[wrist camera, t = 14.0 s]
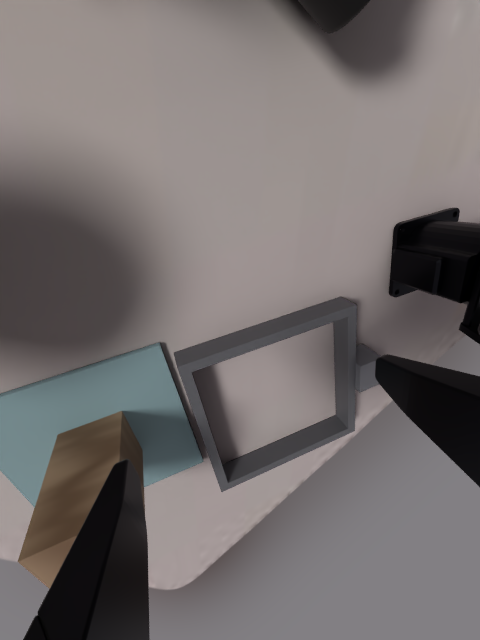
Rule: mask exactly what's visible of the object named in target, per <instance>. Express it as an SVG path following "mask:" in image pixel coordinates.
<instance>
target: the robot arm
mask: <svg viewBox="0 0 480 640" xmlns="http://www.w3.org/2000/svg"><path fill="white" fill-rule="evenodd" d="M459 212H460V211H459V209H458V208H449V209H446V210H442V211H439V212H435V213H432V214H428V215H424V216H421V217H417V218H414V219H410V220H407V221H403V222H400V223H398V224H396V226H395V227H394V232H393V246H392V259H391V273H390V286H389V294H390V296H393V297H398V296H401V295H404V294H407V293H410V292H413V291H415V290H421V291H424V292H427V293H429V294H432V295H437V296H440V297H443V298H446V299H449V300H452V301H455V302H458V303H464V304H467V309H466V312H465V315H464V319H463V322H461V324H460V327H459V330H460V331H462V332H463V333H464V334H466V335H467V336H469V337H470V338H472V339H473V340H474V341H476V342H477V343H479V344H480V224H477V223H466V222H458V218H459ZM400 229H401V230H400ZM375 378H376V380H377V381H378V383H379V384H380V385H381V386H382V387H383V389H384V390H385V391H386V392H387V393H388V395H389V396H390V397H391V398H392V399H393V400H394V402H395V403H396V404H397V405H398V406H399V407H400V409H401V410H402V411H403V412H404V413H405V414H406V415H407V416H408V417H409V418H410V419H411V420H412V421H413V422H414V423H415V424H416V425H417V426H418V427H419V428H420V429H421V430H422V431H423V432H424V433H425V434H426V435H427V436H428V437H429V438H430V439H431V440H432V441H433V442H434V443H435V444H436V445H437V446H438V447H439V448H440V449H441V450H442V451H443V452H444V453H446V454H447V455H448V456H449V457H450V458H451V459H452V460H453V461H454V462H455V463H456V464H457V465H458V466H459V467H460V468H461V469H462V470H463V471H464V472H465V473H466V474H467V475H468V476H469V477H470V478H471V479H472V480H473V481H474V482H475V483H476V484H477V485H478V486H479V487H480V376H475V375H471V374H467V373H463V372H459V371H455V370H451V369H447V368H442V367H438V366H434V365H430V364H426V363H422V362H417V361H413V360H409V359H405V358H401V357H397V356H392V355H388V354H386V355H383V356H381V357H378V358H377V359H376V363H375ZM148 596H149V594H148V543H147V529H146V521H145V513H144V505H143V498H142V490H141V482H140V478H139V475H138V473H137V471H136V470H135V468H134V466H133V464H132V462H131V461H130V460H129V459H125V460H122V461H120V462H118V463H116V464H114V466H113V467H112V469H111V471H110V473H109V475H108V477H107V479H106V481H105V483H104V485H103V487H102V488H101V490H100V492H99V494H98V496H97V498H96V500H95V502H94V504H93V506H92V508H91V510H90V512H89V514H88V516H87V517H86V519H85V521H84V523H83V525H82V527H81V529H80V531H79V533H78V535H77V537H76V539H75V541H74V543H73V544H72V546H71V548H70V550H69V552H68V554H67V556H66V558H65V560H64V562H63V564H62V566H61V568H60V570H59V572H58V573H57V575H56V577H55V579H54V581H53V583H52V585H51V587H50V589H49V591H48V593H47V595H46V597H45V599H44V600H43V602H42V604H41V606H40V608H39V610H38V615H37V616H35V618H34V620H33V621H32V623H31V625H30V627H29V629H28V631H27V633H26V635H25V637H24V639H23V640H149V597H148Z"/></svg>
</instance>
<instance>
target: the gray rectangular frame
mask: <svg viewBox="0 0 480 640" xmlns="http://www.w3.org/2000/svg"><path fill="white" fill-rule="evenodd" d="M332 322H333V325H334V362H335V398H336V415H335V416H333V417H330V418H328V419H326V420H324V421H321V422H319V423H317V424H314V425H312V426H310V427H308V428H305V429H303V430H301V431H299V432H296V433H294V434H292V435H289V436H287V437H285V438H283V439H280V440H278V441H276V442H273V443H271V444H269V445H267V446H264V447H262V448H260V449H258V450H255V451H253V452H251V453H248V454H246V455H244V456H242V457H239V458H237V459H235V460H232V461H230V462H228V463H226V464H223V465H222V463H221V460H220V457H219V454H218V451H217V448H216V445H215V442H214V439H213V436H212V433H211V430H210V426H209V423H208V420H207V417H206V414H205V411H204V408H203V405H202V402H201V399H200V396H199V393H198V390H197V387H196V384H195V381H194V378H193V375H192V372H194V371H197V370H200V369H202V368H205V367H208V366H211V365H214V364H216V363H219V362H222V361H225V360H228V359H230V358H233V357H236V356H239V355H242V354H245V353H247V352H250V351H253V350H256V349H259V348H261V347H264V346H267V345H270V344H273V343H275V342H278V341H281V340H284V339H287V338H290V337H292V336H295V335H298V334H301V333H304V332H306V331H309V330H312V329H315V328H318V327H320V326H323V325H326V324H329V323H332ZM356 323H357V305H356V304H354V303H352V302H350V301H348V300H346V299H344V298H342V297H338V298H335V299H332V300H329V301H326V302H324V303H321V304H318V305H315V306H312V307H309V308H306V309H303V310H300V311H297V312H294V313H291V314H288V315H285V316H282V317H279V318H276V319H273V320H270V321H267V322H264V323H261V324H258V325H255V326H252V327H249V328H246V329H243V330H240V331H237V332H234V333H231V334H228V335H225V336H222V337H219V338H216V339H213V340H210V341H207V342H204V343H201V344H198V345H195V346H192V347H189V348H186V349H183V350H180V351H177V352H174V356H175V360H176V364H177V368H178V371H179V374H180V376H181V379H182V382H183V385H184V388H185V390H186V393H187V396H188V399H189V402H190V404H191V407H192V410H193V413H194V416H195V419H196V421H197V424H198V427H199V430H200V433H201V435H202V438H203V441H204V444H205V447H206V449H207V452H208V455H209V458H210V461H211V464H212V466H213V469H214V472H215V475H216V478H217V480H218V483H219V486H220V489H221V492H223V491H225V490H227V489H230V488H232V487H234V486H236V485H238V484H240V483H243V482H245V481H247V480H249V479H251V478H253V477H256V476H258V475H260V474H262V473H264V472H267V471H269V470H271V469H273V468H275V467H277V466H280V465H282V464H284V463H286V462H288V461H290V460H293V459H295V458H297V457H299V456H301V455H303V454H306V453H308V452H310V451H312V450H314V449H316V448H319V447H321V446H323V445H325V444H327V443H329V442H332V441H334V440H336V439H338V438H340V437H343V436H345V435H347V434H349V433H351V432H353V431H355V389H357V390H358V391H359V392H362V391H364V390H367V389H369V388H371V387H374V386H376V385H378V384H379V383H378V381H377V380H376V378H375V363H376V359H377V358H378V357H381V356H380V355H379V354H377V353H376V352H374V351H373V350H371V349H370V348H368V347H367V346H365V345H364V344H361V345H358V346H356Z"/></svg>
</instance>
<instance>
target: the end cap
mask: <svg viewBox="0 0 480 640" xmlns="http://www.w3.org/2000/svg"><path fill="white" fill-rule="evenodd" d="M298 1H299V2H300V3H301V5H302V6H303V7H304V8H305V9H306V11H307V12H308V13H309V14H310V15H311V16H312V18H313V19H314V20H315V21H316V22H317V24H318V25H319V26H320V27H321V28H322V30H323V31H324V32H327V33H333V32H335V31H338V30H339V29H341V28H342V27H344V26H345V25H346V24H347V23H348V22H350V21H351V20H352V19H353V18H354V17H355V16H356V15H357V14H358V13H359V12H360V11H361V10H362V9H363V8H364V7H365V6H366V5H367V4H368V2H369V1H370V0H298Z"/></svg>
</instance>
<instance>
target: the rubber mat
mask: <svg viewBox="0 0 480 640" xmlns="http://www.w3.org/2000/svg"><path fill="white" fill-rule="evenodd" d="M120 411H122V412H123V414H124V416H125V417H126V419H127V421H128V423H129V425H130V427H131V429H132V431H133V433H134V435H135V437H136V438H137V440H138V442H139V444H140V446H141V448H142V450H143V476H144V487H146V486H148V485H151V484H153V483H155V482H157V481H160V480H162V479H164V478H167V477H169V476H171V475H174V474H176V473H178V472H181V471H183V470H185V469H188V468H190V467H192V466H195V465H197V464H199V463H202V462H203V458H202V455H201V453H200V450H199V447H198V445H197V442H196V439H195V436H194V434H193V431H192V428H191V426H190V423H189V420H188V418H187V415H186V412H185V410H184V407H183V404H182V402H181V399H180V396H179V394H178V391H177V388H176V386H175V383H174V380H173V378H172V375H171V372H170V370H169V367H168V364H167V362H166V359H165V356H164V354H163V351H162V348H161V345H160V343H156V344H153V345H150V346H147V347H143V348H140V349H137V350H134V351H131V352H128V353H125V354H122V355H119V356H116V357H113V358H110V359H106V360H103V361H100V362H97V363H94V364H91V365H88V366H85V367H82V368H79V369H76V370H72V371H69V372H66V373H63V374H60V375H57V376H54V377H51V378H48V379H45V380H42V381H38V382H35V383H32V384H29V385H26V386H23V387H20V388H17V389H14V390H11V391H8V392H5V393H1V394H0V470H1V472H2V473H3V474H4V475H5V476H6V477H7V478H8V479H9V480H10V481H11V482H12V483H13V485H14V486H15V487H16V488H17V489H18V490H19V491H20V492H21V493H22V494H23V495H24V496H25V498H26V499H27V500H28V501H29V502H30V503H31V504H32V505H33V506H34V507H35V505H36V502H37V499H38V496H39V493H40V489H41V486H42V483H43V480H44V477H45V473H46V470H47V467H48V464H49V461H50V457H51V454H52V451H53V448H54V445H55V442H56V438H57V435H58V434H60V433H63V432H66V431H68V430H71V429H74V428H77V427H79V426H82V425H85V424H87V423H90V422H93V421H96V420H98V419H101V418H104V417H106V416H109V415H112V414H115V413H117V412H120Z"/></svg>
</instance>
